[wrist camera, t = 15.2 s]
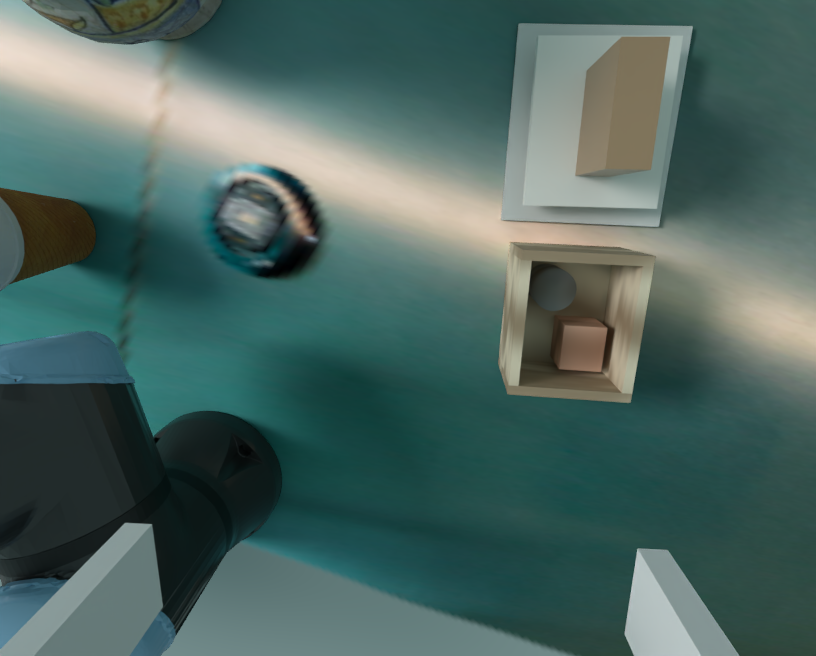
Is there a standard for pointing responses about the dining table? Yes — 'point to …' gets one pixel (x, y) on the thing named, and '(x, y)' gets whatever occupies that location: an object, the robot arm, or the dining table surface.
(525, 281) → the crate
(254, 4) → the dining table surface
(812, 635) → the dining table surface
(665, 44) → the lid
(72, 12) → the vase
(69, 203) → the disposable coffee cup
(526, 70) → the tray
